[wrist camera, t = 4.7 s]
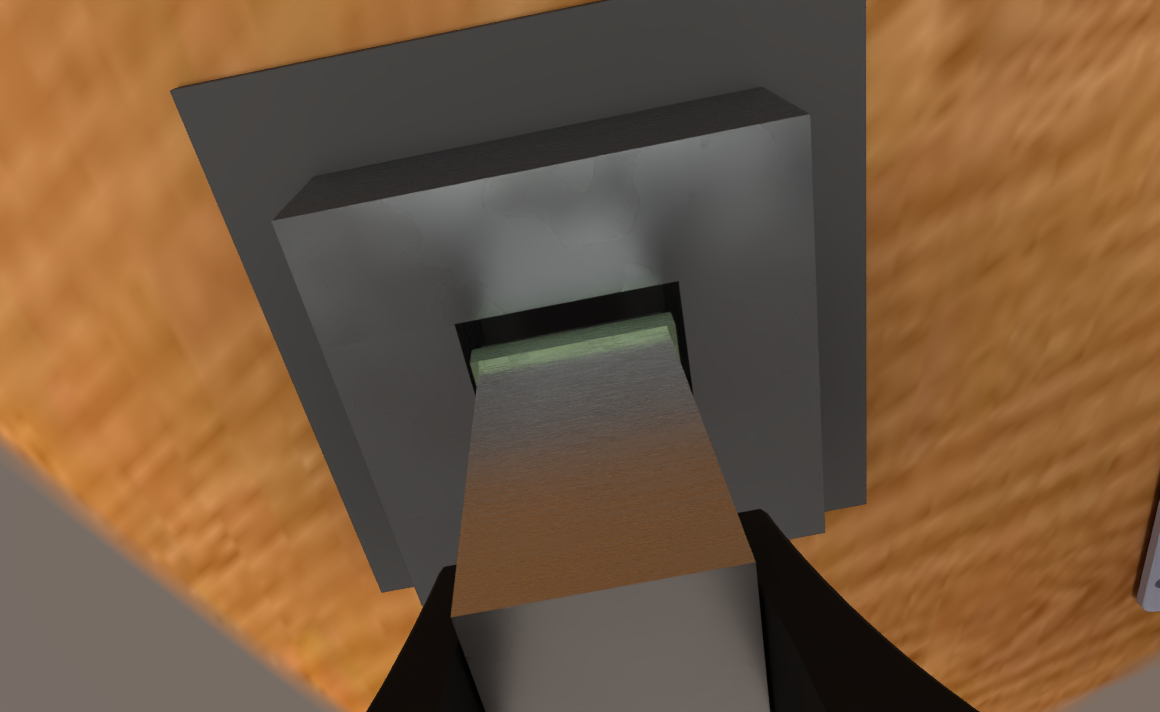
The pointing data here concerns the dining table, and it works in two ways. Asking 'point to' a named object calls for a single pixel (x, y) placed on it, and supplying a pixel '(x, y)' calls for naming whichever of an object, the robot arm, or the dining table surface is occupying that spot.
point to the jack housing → (572, 290)
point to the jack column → (602, 534)
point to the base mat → (529, 104)
